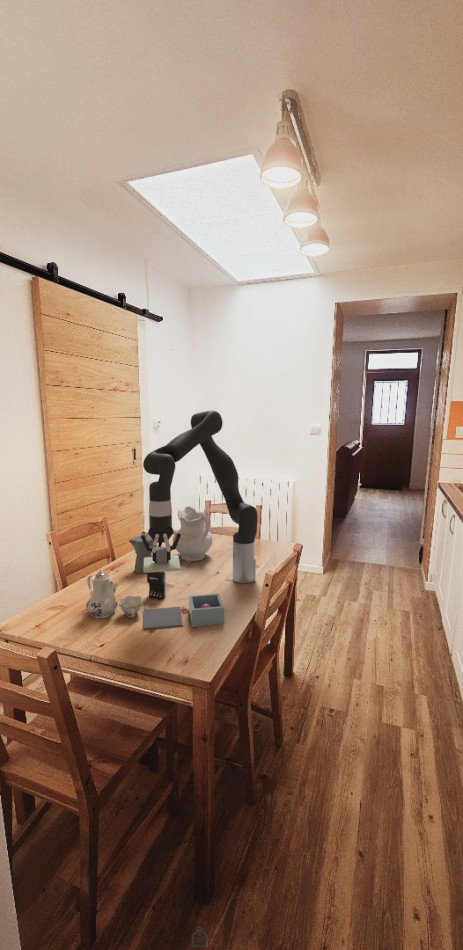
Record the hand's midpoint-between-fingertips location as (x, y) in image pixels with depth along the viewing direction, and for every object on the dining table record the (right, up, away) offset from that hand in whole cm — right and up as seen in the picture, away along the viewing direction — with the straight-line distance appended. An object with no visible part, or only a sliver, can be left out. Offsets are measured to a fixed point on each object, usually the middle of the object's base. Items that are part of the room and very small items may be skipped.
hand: (161, 561), depth 142 cm
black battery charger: (-5, -18, +19) cm, 27 cm away
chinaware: (-20, -20, +9) cm, 30 cm away
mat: (0, -21, +3) cm, 21 cm away
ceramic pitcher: (+6, -11, +63) cm, 64 cm away
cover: (0, -1, 0) cm, 1 cm away
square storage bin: (+15, -21, +4) cm, 26 cm away
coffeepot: (-14, -14, +47) cm, 51 cm away
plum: (+15, -18, +4) cm, 23 cm away
